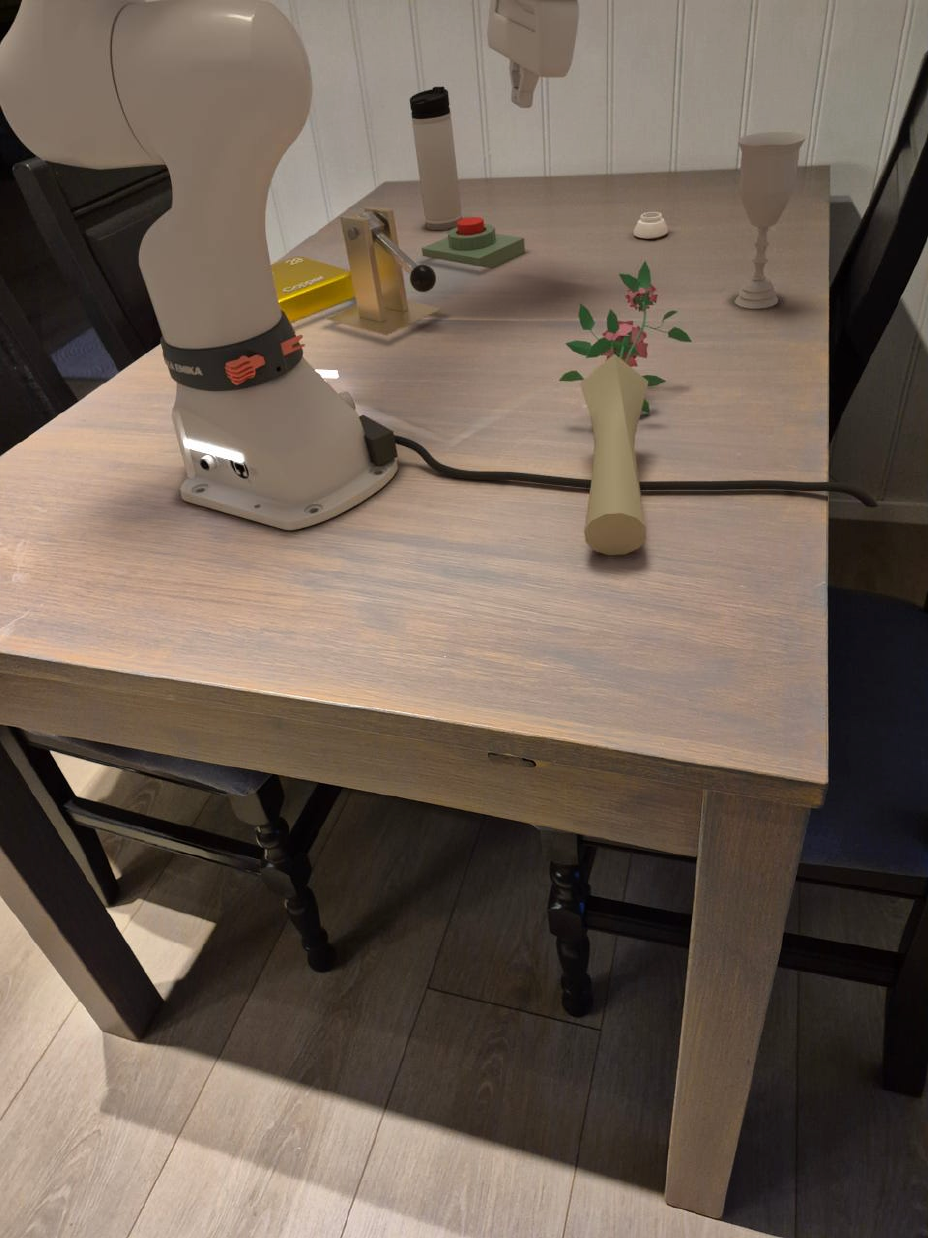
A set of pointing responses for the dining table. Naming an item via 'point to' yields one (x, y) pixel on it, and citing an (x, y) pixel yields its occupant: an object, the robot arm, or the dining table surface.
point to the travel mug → (436, 158)
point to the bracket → (377, 279)
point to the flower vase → (617, 420)
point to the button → (470, 226)
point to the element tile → (310, 286)
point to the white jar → (650, 226)
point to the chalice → (766, 199)
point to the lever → (401, 256)
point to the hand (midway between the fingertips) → (521, 105)
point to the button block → (476, 248)
